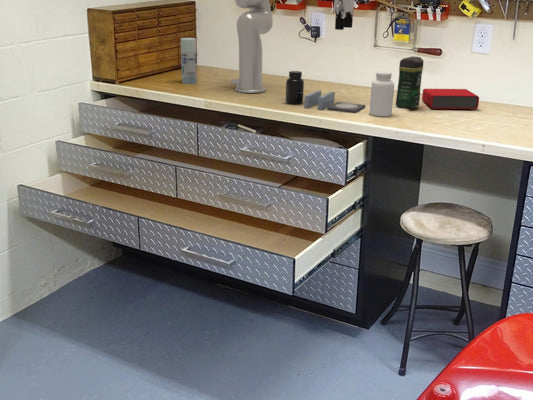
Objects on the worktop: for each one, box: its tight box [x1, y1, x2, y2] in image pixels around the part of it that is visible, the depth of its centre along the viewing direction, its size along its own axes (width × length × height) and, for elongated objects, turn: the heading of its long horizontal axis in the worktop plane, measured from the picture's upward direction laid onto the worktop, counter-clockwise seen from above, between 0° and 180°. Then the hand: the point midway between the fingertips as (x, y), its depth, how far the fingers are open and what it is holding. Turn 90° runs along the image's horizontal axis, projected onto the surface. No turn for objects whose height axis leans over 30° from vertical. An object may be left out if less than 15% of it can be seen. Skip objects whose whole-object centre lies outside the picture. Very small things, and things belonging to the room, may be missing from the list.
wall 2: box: [317, 91, 336, 111], centre depth 239 cm, size 2×13×4 cm, turn 153°
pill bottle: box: [369, 71, 395, 118], centre depth 226 cm, size 8×8×15 cm
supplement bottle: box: [285, 70, 305, 105], centre depth 243 cm, size 7×7×12 cm
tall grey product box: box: [180, 37, 198, 85], centre depth 273 cm, size 6×6×20 cm
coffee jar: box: [395, 56, 424, 109], centre depth 239 cm, size 10×8×19 cm
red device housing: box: [421, 88, 480, 110], centre depth 247 cm, size 18×14×5 cm
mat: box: [326, 101, 366, 114], centre depth 236 cm, size 11×11×1 cm
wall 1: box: [303, 89, 322, 109], centre depth 241 cm, size 2×13×4 cm, turn 153°
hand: (343, 28), depth 236 cm, fingers open, 9 cm apart
